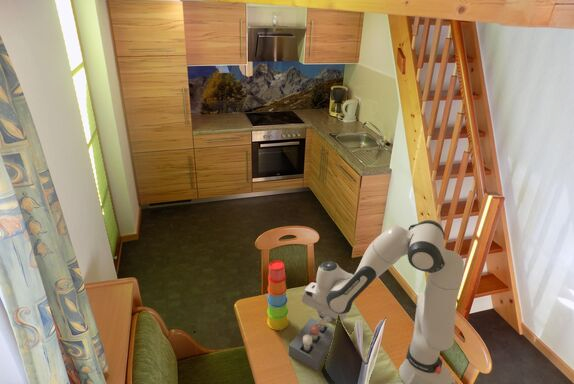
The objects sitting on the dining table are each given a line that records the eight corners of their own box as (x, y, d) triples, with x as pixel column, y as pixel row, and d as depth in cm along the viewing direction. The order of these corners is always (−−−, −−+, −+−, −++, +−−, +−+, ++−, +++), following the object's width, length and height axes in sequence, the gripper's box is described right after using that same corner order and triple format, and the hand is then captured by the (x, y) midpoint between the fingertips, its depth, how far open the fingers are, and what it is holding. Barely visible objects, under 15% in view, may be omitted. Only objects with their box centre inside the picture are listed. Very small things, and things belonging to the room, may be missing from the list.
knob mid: (320, 337, 169) (321, 327, 166) (315, 343, 166) (317, 333, 163) (312, 333, 171) (313, 323, 168) (307, 339, 168) (308, 329, 165)
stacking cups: (274, 334, 177) (276, 276, 160) (263, 319, 184) (264, 262, 168) (292, 325, 182) (296, 268, 165) (281, 311, 189) (284, 255, 173)
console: (336, 340, 175) (337, 330, 172) (316, 370, 161) (317, 361, 158) (309, 326, 182) (310, 317, 179) (288, 354, 167) (289, 345, 165)
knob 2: (326, 327, 174) (328, 317, 171) (322, 333, 171) (324, 323, 168) (319, 324, 176) (320, 314, 173) (315, 329, 173) (316, 319, 170)
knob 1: (313, 347, 164) (314, 337, 161) (308, 354, 161) (309, 343, 158) (305, 343, 166) (306, 333, 163) (300, 349, 163) (301, 339, 160)
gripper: (350, 300, 161) (346, 323, 168) (308, 280, 171) (306, 303, 177) (344, 309, 157) (340, 332, 163) (301, 289, 166) (299, 312, 172)
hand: (322, 317), depth 170 cm, fingers closed
